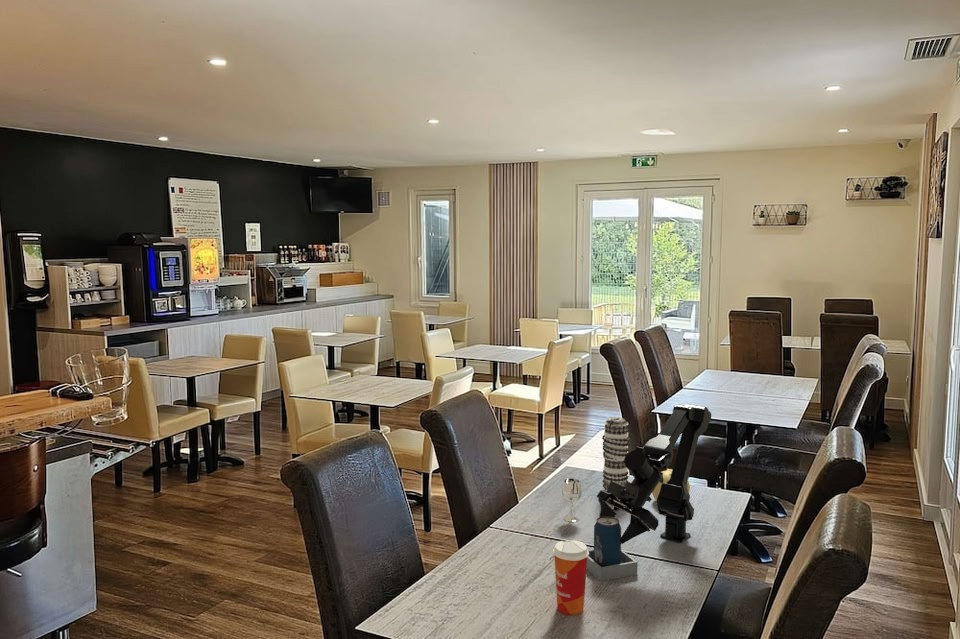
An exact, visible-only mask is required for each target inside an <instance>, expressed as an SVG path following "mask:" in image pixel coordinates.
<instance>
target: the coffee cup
mask: <svg viewBox="0 0 960 639" xmlns="http://www.w3.org/2000/svg"><path fill="white" fill-rule="evenodd" d="M588 550H589V549H588V546H587V545H586V544H585V543H583V542H582V541H579V540H574V539H573V540H565V541H564V540H560V541H558V542H556V544H555V545H554V548H553V550H552V554H553V555H554V556H553V558H554V574H555V588H556V589H555V592H556V604H557V605H556V606H557V611H559V612H560V613H561V614H563V615H566V616H567V615H568V616H576V615H580V614H582V613H583V611H584V608H585V606H584V605H585V597H586V596H585V595H586V594H585V593H586V582H587V581H586V579H587V569H586V568H587V556H588V555H589V551H588Z"/></svg>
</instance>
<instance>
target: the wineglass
mask: <svg viewBox="0 0 960 639" xmlns="http://www.w3.org/2000/svg"><path fill="white" fill-rule="evenodd" d="M580 482H581V481H580V480H579V479H577V478H565V479H564V480H563V484H562V487H561V488H562V490H561V494H562V497H563V499H564V500H565V501H567V502H570V503H569V507H570V515H567V516H565V517H563V520H564V521H565V522H568V521H569V523H576V522H579V520H580V519H579V517H577V516H574V515H573V508H574V502H577V501H578V500H580V499H581V497H582V486H581V483H580Z"/></svg>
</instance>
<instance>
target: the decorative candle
mask: <svg viewBox="0 0 960 639" xmlns="http://www.w3.org/2000/svg"><path fill="white" fill-rule="evenodd" d="M603 423H604V431H603V435H602V438H601V439H602V440H603V441H602V450H603V452H602V457H603V459H604V463H603V464H604V465H603V470H602V473H603V475H602V477H603V479H602V487H603V488H602V490H606V491H607V489H608V486H609V483H610V481H613V482H616V483H619V484H621V485H625V484H626V483H627V482H629V480H628V479H629V472H630V471H629V470H628V469H627V467H626V466H625V464H624V459H625V456H626V455H627V454H628V453H629V452H630V449H629V447H628V446H630V445H631V443H630V442H629V441H630V440H631V438H630V437H629V432H628V429H629V428H628V425H630V424H629V422H628V421H627V420H626V419H625V418H624V417H620V416H610V417H608V418H607V419H606V421H604V422H603Z"/></svg>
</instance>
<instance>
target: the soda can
mask: <svg viewBox="0 0 960 639" xmlns="http://www.w3.org/2000/svg"><path fill="white" fill-rule="evenodd" d="M621 537H622V526H621V524H620V520H619V519H618V518H616V517H615V516H614V517H609V516H603V517H597V518H596V521H595V524H594V526H593V549H594V561H595V562H596V563H597V564H598V565H600V566H601V567H605V566H611V565H616V564H620V563H621V550H622V544H621V543H620V542H619V541H620V539H621Z"/></svg>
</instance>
